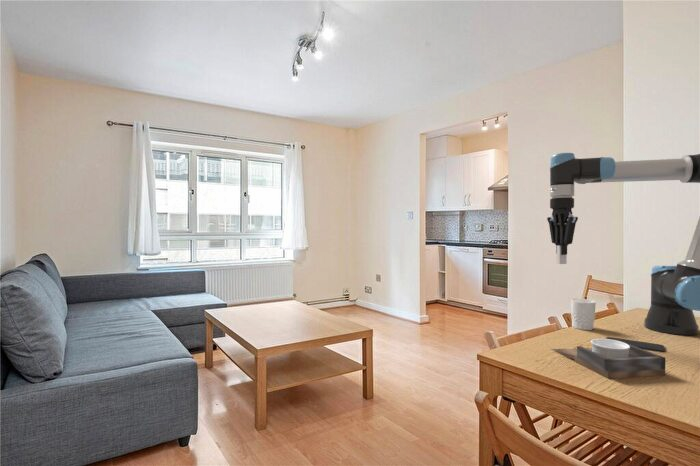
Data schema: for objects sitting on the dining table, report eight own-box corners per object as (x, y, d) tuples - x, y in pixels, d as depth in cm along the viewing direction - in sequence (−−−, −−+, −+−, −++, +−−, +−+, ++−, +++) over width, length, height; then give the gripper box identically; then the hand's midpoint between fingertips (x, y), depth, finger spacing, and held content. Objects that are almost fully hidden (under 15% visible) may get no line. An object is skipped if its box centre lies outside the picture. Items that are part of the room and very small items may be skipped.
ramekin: (634, 366, 100) (635, 350, 100) (595, 362, 103) (595, 346, 103) (623, 355, 109) (623, 340, 108) (587, 352, 112) (587, 337, 111)
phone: (606, 336, 130) (663, 344, 121) (606, 339, 130) (663, 347, 121) (604, 341, 125) (664, 351, 115) (604, 344, 125) (664, 353, 115)
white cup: (599, 331, 138) (599, 303, 138) (574, 330, 139) (575, 302, 139) (590, 325, 146) (590, 299, 145) (567, 324, 147) (567, 298, 147)
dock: (597, 350, 121) (598, 332, 121) (665, 379, 99) (665, 357, 98) (550, 352, 119) (550, 334, 119) (607, 382, 96) (608, 360, 96)
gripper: (540, 198, 144) (540, 262, 144) (565, 196, 131) (564, 266, 131) (559, 198, 145) (558, 261, 145) (585, 196, 132) (584, 265, 133)
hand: (561, 263), depth 138 cm, fingers closed
